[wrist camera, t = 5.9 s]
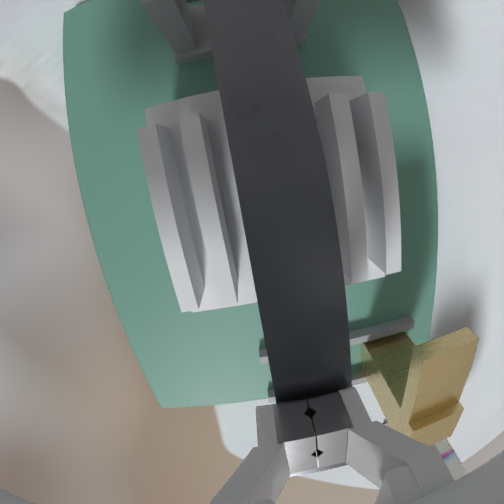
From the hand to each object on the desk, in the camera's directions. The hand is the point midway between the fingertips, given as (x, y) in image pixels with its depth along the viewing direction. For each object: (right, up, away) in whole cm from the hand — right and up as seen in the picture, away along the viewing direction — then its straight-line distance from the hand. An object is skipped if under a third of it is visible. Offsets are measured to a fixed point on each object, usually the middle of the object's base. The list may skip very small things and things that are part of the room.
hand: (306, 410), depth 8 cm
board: (-1, +9, +7) cm, 11 cm away
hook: (+7, 0, +9) cm, 11 cm away
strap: (-1, +6, +1) cm, 6 cm away
